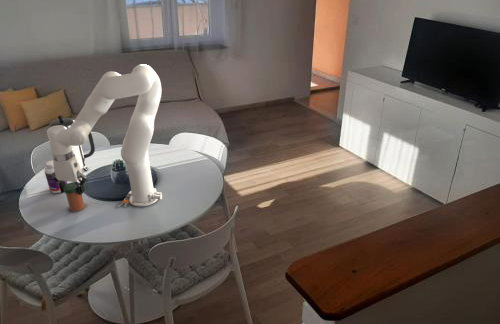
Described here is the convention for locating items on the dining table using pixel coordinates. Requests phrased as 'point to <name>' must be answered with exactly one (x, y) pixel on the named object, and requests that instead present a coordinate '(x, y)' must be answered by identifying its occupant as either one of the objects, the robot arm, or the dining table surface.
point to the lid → (70, 188)
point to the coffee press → (76, 149)
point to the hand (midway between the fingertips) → (72, 192)
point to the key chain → (127, 199)
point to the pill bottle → (51, 182)
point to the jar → (75, 201)
